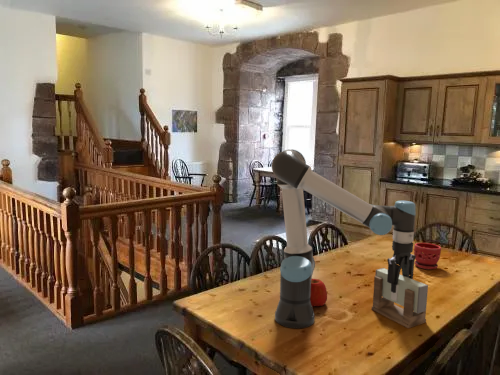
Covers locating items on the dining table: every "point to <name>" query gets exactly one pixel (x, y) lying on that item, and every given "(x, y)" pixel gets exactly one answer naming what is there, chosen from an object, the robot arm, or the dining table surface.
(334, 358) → the dining table surface
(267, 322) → the dining table surface
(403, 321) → the u-shaped post stand
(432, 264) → the plant pot
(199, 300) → the dining table surface
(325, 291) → the apple
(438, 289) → the dining table surface
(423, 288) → the cream rectangular block
